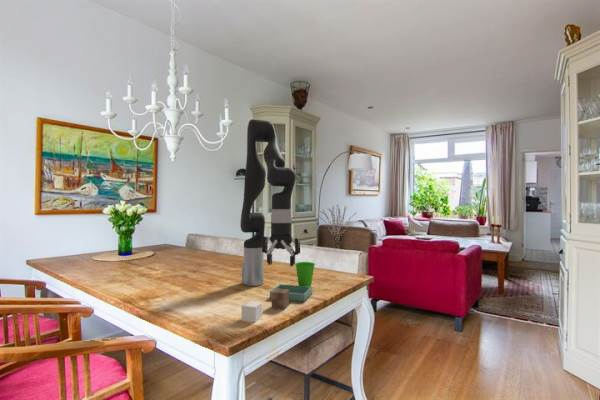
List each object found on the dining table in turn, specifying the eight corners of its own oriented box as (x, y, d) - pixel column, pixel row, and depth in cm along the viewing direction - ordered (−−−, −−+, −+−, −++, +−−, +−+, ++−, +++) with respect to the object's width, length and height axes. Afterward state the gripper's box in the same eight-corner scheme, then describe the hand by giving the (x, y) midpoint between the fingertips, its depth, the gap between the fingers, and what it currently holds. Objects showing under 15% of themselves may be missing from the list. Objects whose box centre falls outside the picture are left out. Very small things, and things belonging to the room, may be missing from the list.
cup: (297, 292, 138) (297, 266, 138) (292, 286, 147) (292, 262, 146) (317, 290, 140) (317, 265, 140) (311, 285, 149) (311, 261, 149)
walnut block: (271, 308, 117) (271, 292, 117) (276, 304, 122) (276, 288, 122) (284, 309, 116) (284, 293, 116) (289, 305, 121) (289, 289, 121)
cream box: (241, 320, 105) (241, 305, 105) (248, 315, 110) (248, 301, 110) (255, 322, 104) (255, 307, 104) (261, 317, 109) (261, 302, 109)
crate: (269, 298, 128) (269, 291, 128) (279, 291, 139) (279, 284, 139) (304, 302, 124) (304, 294, 124) (312, 294, 135) (312, 286, 135)
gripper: (259, 221, 117) (259, 265, 117) (296, 222, 113) (296, 268, 113) (267, 220, 125) (266, 262, 125) (302, 221, 120) (302, 264, 121)
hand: (280, 265), depth 119 cm, fingers open, 8 cm apart
